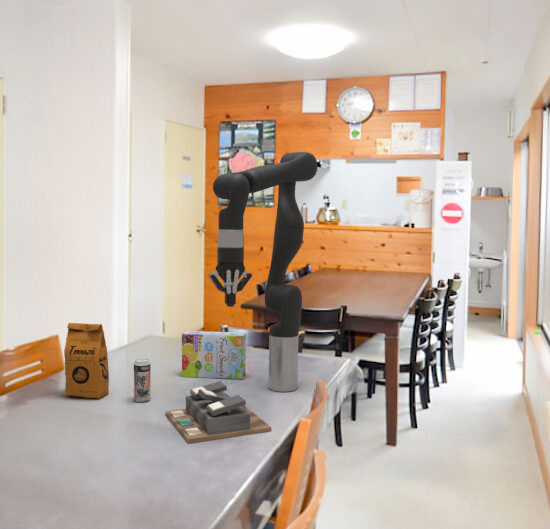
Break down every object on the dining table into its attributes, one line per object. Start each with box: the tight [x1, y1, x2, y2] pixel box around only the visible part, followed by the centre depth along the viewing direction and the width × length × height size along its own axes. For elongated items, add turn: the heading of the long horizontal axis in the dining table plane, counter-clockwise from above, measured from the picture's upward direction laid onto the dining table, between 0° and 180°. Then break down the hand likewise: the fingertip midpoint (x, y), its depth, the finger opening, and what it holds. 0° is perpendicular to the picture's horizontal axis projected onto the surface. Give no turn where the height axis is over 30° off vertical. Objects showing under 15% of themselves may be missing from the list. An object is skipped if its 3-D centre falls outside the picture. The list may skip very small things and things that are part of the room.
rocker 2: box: [198, 389, 231, 403], centre depth 160 cm, size 5×9×2 cm, turn 115°
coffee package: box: [63, 322, 110, 400], centre depth 181 cm, size 10×12×22 cm
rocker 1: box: [189, 381, 228, 399], centre depth 166 cm, size 5×9×2 cm, turn 115°
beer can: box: [133, 358, 152, 403], centre depth 178 cm, size 5×5×12 cm
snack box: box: [181, 330, 247, 380], centre depth 205 cm, size 21×6×15 cm, turn 84°
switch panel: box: [164, 391, 272, 445], centre depth 160 cm, size 22×22×5 cm
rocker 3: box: [206, 394, 247, 416], centre depth 154 cm, size 5×9×2 cm, turn 115°
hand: (230, 306), depth 172 cm, fingers closed
